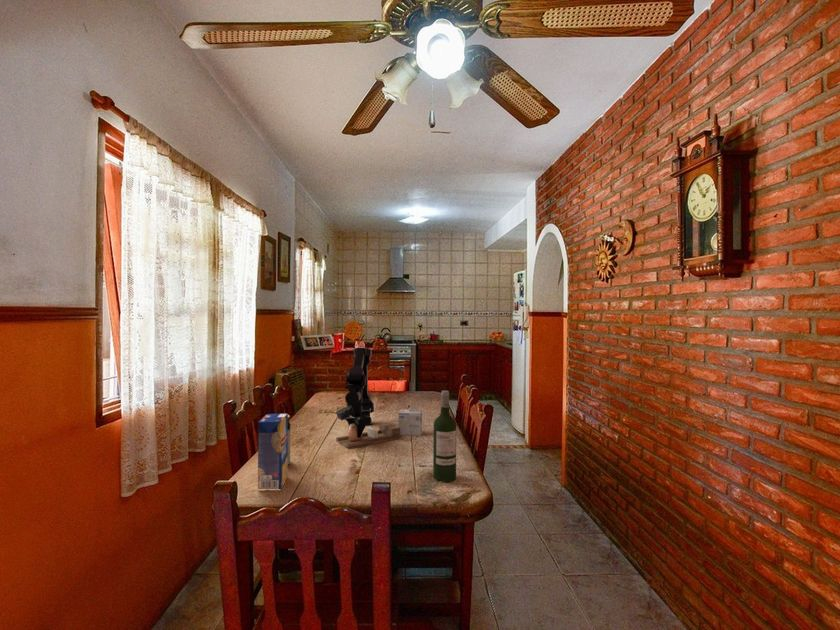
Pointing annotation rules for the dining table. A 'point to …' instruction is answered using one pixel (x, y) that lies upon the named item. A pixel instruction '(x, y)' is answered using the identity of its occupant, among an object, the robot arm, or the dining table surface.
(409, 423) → the white carton
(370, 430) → the bar
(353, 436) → the jar
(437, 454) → the wine bottle
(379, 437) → the lane
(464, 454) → the dining table surface
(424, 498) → the dining table surface
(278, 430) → the beverage box
